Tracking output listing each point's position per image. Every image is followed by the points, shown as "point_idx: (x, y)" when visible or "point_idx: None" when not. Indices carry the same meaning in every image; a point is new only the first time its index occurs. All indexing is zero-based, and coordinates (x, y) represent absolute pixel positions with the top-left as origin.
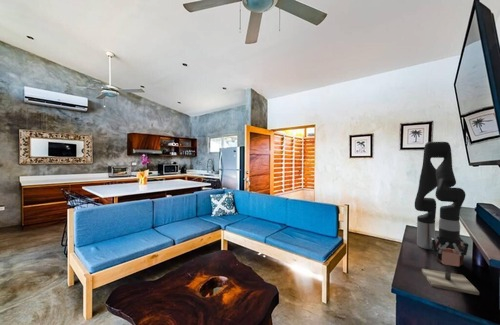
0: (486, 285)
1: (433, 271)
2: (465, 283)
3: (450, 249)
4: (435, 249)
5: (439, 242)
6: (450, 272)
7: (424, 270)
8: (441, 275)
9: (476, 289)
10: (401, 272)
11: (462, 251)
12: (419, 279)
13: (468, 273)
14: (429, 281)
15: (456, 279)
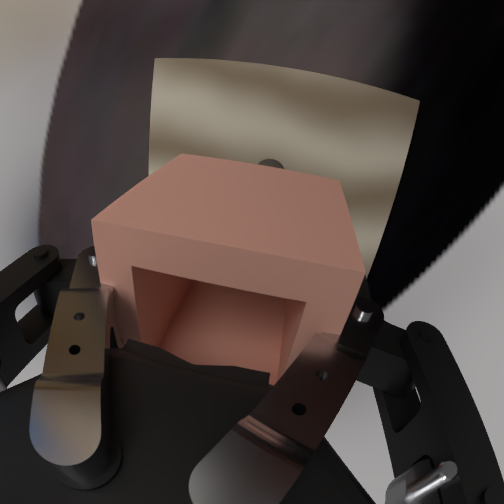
0: (479, 176)
1: (220, 80)
2: (355, 211)
3: (279, 294)
4: (51, 324)
5: (26, 391)
6: None
7: (161, 85)
8: (251, 129)
9: (369, 264)
10: (56, 125)
11: (412, 371)
12: (119, 175)
13: (480, 45)
14: None
15: (329, 169)
